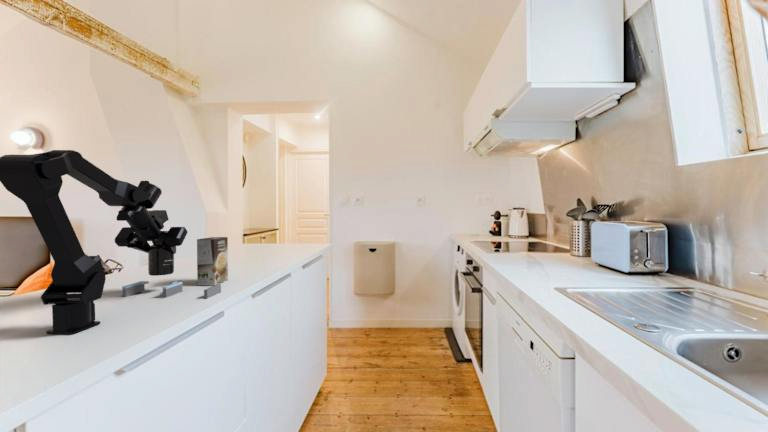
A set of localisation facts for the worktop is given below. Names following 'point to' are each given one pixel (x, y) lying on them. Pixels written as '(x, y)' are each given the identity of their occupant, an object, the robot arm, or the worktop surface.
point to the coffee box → (212, 260)
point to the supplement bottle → (160, 259)
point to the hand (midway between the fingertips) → (163, 252)
